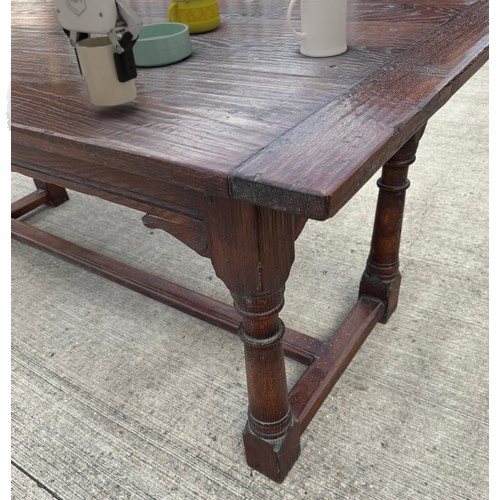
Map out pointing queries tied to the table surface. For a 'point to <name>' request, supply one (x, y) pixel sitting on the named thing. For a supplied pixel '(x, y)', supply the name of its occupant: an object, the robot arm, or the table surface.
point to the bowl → (162, 44)
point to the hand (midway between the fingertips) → (108, 75)
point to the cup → (103, 72)
